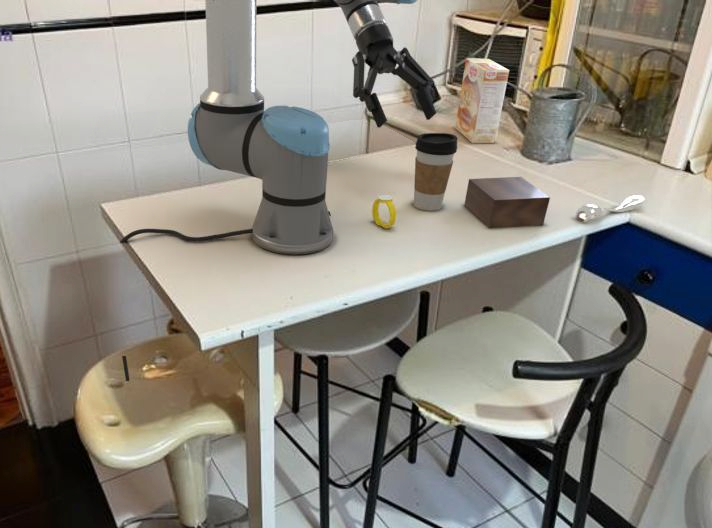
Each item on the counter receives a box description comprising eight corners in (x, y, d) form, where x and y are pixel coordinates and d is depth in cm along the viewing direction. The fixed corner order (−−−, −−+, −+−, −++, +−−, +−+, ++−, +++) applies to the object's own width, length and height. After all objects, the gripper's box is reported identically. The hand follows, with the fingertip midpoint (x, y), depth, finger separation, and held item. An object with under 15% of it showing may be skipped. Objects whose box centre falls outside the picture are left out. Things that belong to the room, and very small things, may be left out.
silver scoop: (634, 184, 144) (653, 191, 141) (630, 199, 146) (649, 206, 143) (572, 205, 136) (591, 213, 132) (568, 220, 138) (587, 229, 134)
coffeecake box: (453, 127, 192) (465, 57, 182) (477, 127, 193) (489, 58, 183) (471, 143, 180) (484, 69, 169) (496, 143, 180) (510, 69, 170)
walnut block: (488, 228, 131) (494, 200, 128) (464, 205, 141) (468, 178, 138) (543, 225, 133) (550, 197, 130) (515, 202, 143) (520, 176, 140)
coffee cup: (447, 215, 136) (459, 144, 128) (406, 210, 138) (415, 140, 130) (447, 200, 143) (458, 132, 135) (408, 196, 145) (417, 128, 137)
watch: (397, 230, 129) (401, 201, 126) (386, 232, 128) (389, 204, 125) (379, 219, 133) (382, 191, 130) (368, 221, 132) (370, 193, 129)
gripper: (406, 40, 151) (441, 122, 148) (315, 48, 140) (351, 136, 137) (424, 19, 144) (461, 104, 142) (331, 24, 133) (369, 117, 130)
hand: (407, 120), depth 139 cm, fingers open, 13 cm apart
